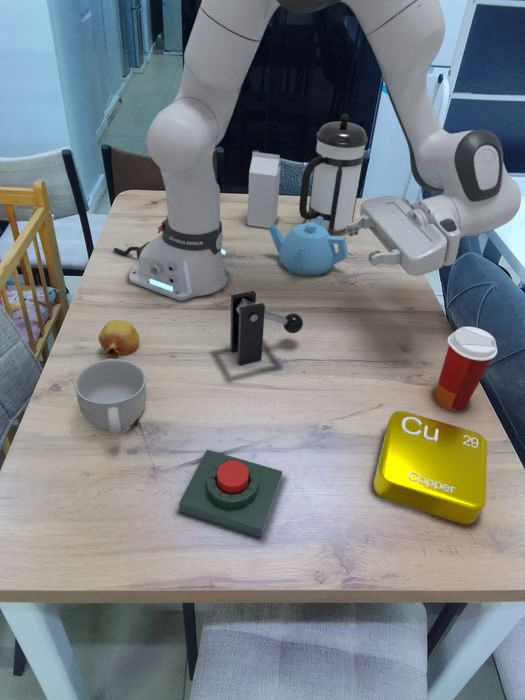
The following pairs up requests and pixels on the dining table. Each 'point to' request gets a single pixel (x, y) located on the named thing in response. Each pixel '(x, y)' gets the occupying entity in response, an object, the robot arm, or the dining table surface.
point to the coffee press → (334, 175)
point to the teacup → (111, 393)
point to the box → (231, 495)
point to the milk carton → (263, 189)
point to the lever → (279, 318)
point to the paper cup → (464, 366)
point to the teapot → (309, 248)
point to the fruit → (118, 338)
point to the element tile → (433, 467)
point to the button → (232, 477)
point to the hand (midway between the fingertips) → (358, 244)
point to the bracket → (247, 328)
